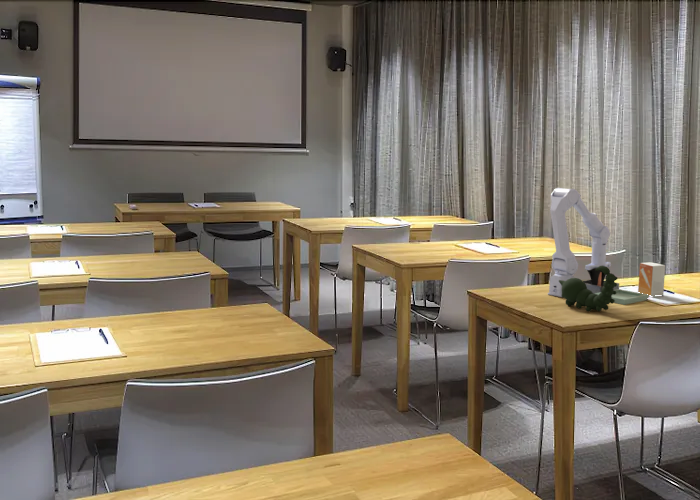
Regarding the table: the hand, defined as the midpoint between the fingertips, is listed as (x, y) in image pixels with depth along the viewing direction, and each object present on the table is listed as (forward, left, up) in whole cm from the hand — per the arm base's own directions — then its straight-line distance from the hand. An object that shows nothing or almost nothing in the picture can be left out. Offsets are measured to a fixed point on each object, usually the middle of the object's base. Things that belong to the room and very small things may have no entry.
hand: (597, 285), depth 309 cm
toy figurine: (-32, -18, -3) cm, 37 cm away
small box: (+11, -18, -3) cm, 21 cm away
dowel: (0, 0, -2) cm, 2 cm away
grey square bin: (0, 0, -2) cm, 2 cm away
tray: (-6, -16, -2) cm, 17 cm away
